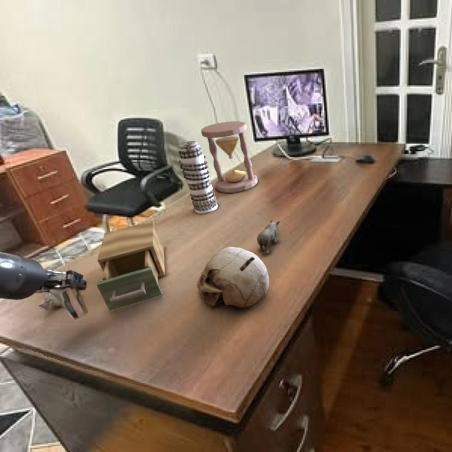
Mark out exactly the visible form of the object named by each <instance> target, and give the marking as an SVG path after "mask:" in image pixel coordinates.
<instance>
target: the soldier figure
mask: <svg viewBox="0 0 452 452" xmlns="http://www.w3.org/2000/svg"><path fill="white" fill-rule="evenodd" d="M43 300H44V301H43V302H42V303H41V304H38V307H39V308H41V309H44V310H45V311H49V309H50V306H55V307H58V306H59V307H61V305H60V303H59V302H58V301H57V299H56V298H55V297H54V296H53V295H52V293H48V292H44V293H43Z"/></svg>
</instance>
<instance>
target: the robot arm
mask: <svg viewBox="0 0 452 452" xmlns="http://www.w3.org/2000/svg"><path fill="white" fill-rule="evenodd" d="M57 284H58V285H57ZM68 285H69V286H68ZM55 286H57V287H55ZM87 288H88V281H87V280H86V279H84V275H83V274H82V273H79V272H78V271H75V270H72V269H69V270H66V271H65V272H60V271H53V270H51V269H45V268H44V267H43V265H42V264H41V263H40V262H39V261H37V260H36V259H34V258H29V257H25V256H20V255H17V254H11V253H8V252H3V251H0V299H1V300H12V301H21V300H25V299H28V298H30V297H32V296H33V295H34V294H44V292H48V294H52V293H51V292H50V290H52V291H61V290H65V289H71V290H73V289H74V290H79V291H80V292H82V291H86V290H87Z"/></svg>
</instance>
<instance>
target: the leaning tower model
mask: <svg viewBox="0 0 452 452" xmlns="http://www.w3.org/2000/svg"><path fill="white" fill-rule="evenodd" d="M176 151H177V153H178V156H179V161H178V164H179V167H180V169H181V170H182V171H181V173H182V175H183V178H184V179H185V183H186V184H187V185H188V189H189V196H190V200H191V201H192V202H191V203H192V206H193V209H194V212H195V213H196V214H208V213H211V212H213V211H215V210H217V209H218V207H219V205H218V201H217V197H216V196H215V195H216V194H215V192H214V188H213V185H212V183H211V181H210V179H211V175H210V171H209V170H207V169H208V168H209V165H207V164H208V161H206V160H205V159H206V158H207V157H206V155H204V153H203V152H202V144H200V143H198V142H197V141H195V140H189V141H184V142H181V143H180V144H179V145H178V147H177V149H176Z"/></svg>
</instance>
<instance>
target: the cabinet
mask: <svg viewBox="0 0 452 452" xmlns="http://www.w3.org/2000/svg"><path fill="white" fill-rule="evenodd" d="M149 249H150V250H151V252H152V254H153V257H154V259H155V262H156V264H157V267H158V278H162V277H165V276H166V271H165V269H166V267H165V249H164V246H163V243H162V241H161V238H160V235H159V232H158V229H157V227H156V226H155V222H154V221H153V220H151V221H148V222H144V223H140V224H136V225H132V226H127V227H123V228H120V229H116V230H110V231H107V232H104V233H103V238H102V242H101V245H100V250H99V253H98V255H97V262H98V264H99V267H100V269H101V271H102V273H103V272H104V268H105V264H106V261H109V260H112V259H116V258H120V257H123V256H127V255H131V254H135V253H138V252H142V251H146V250H149Z"/></svg>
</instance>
